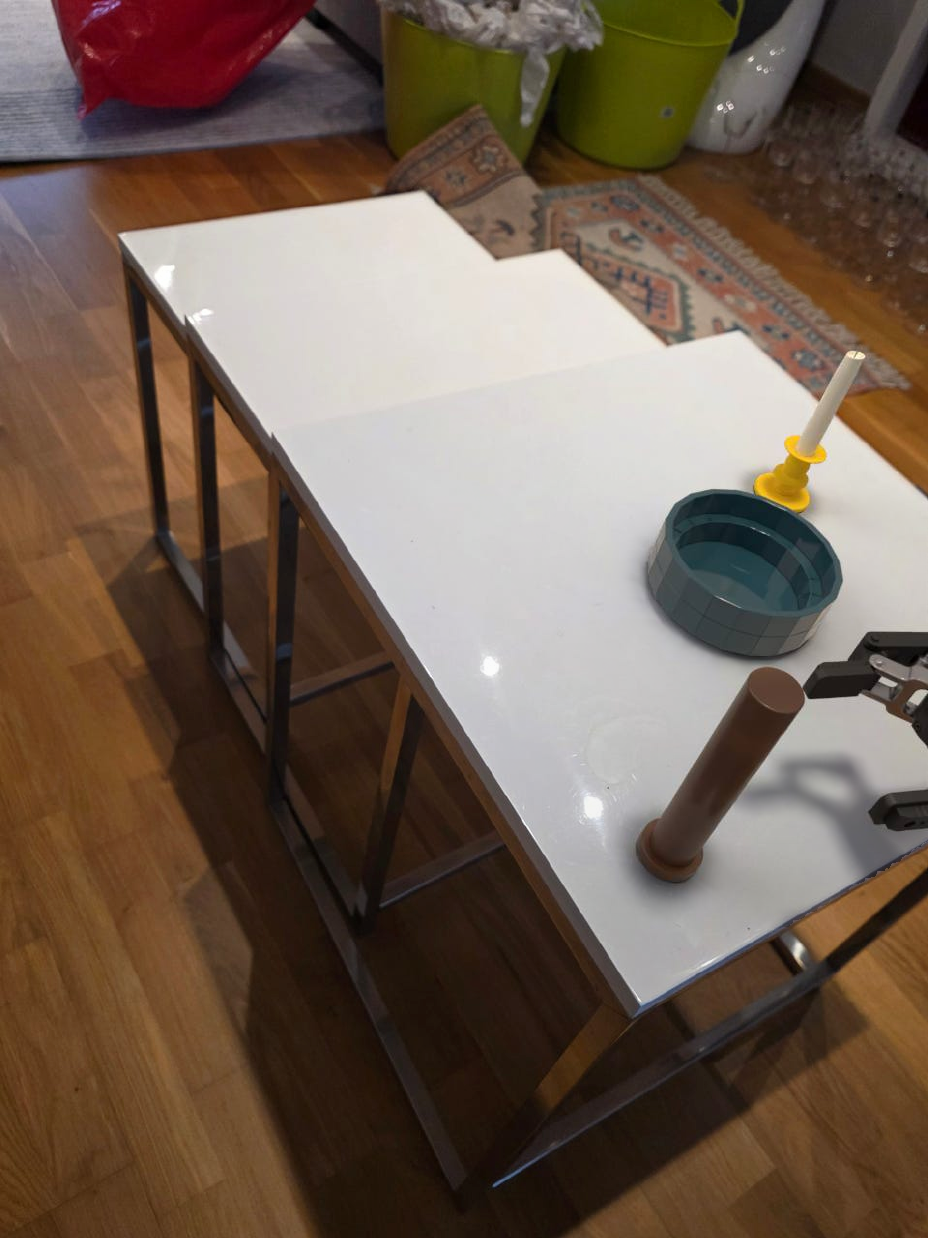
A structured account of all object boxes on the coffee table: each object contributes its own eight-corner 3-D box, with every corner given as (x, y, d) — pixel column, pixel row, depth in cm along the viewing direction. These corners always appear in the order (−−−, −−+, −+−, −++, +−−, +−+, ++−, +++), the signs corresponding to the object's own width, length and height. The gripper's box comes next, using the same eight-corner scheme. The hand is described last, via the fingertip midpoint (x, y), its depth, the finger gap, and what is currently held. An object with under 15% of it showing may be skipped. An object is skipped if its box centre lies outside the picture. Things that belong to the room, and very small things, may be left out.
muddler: (709, 870, 61) (831, 709, 48) (659, 891, 59) (771, 730, 47) (674, 817, 63) (782, 651, 50) (624, 836, 61) (723, 669, 49)
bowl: (849, 635, 77) (879, 593, 74) (712, 679, 72) (738, 635, 68) (744, 520, 85) (766, 476, 82) (613, 551, 79) (631, 505, 76)
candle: (744, 494, 88) (819, 345, 77) (765, 469, 91) (840, 323, 80) (796, 522, 86) (880, 375, 75) (815, 495, 90) (899, 350, 78)
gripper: (1042, 597, 60) (816, 606, 56) (1197, 794, 51) (941, 821, 47) (975, 672, 66) (765, 685, 61) (1104, 862, 56) (868, 891, 52)
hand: (842, 744), depth 54 cm, fingers open, 8 cm apart
